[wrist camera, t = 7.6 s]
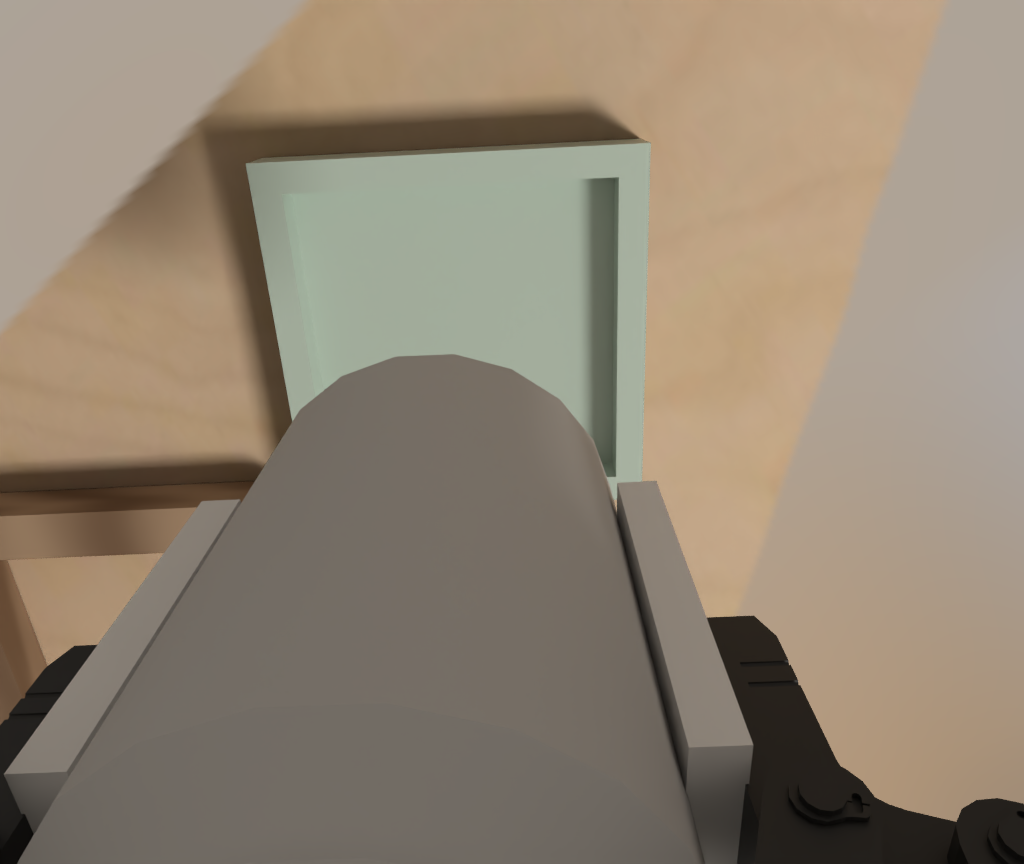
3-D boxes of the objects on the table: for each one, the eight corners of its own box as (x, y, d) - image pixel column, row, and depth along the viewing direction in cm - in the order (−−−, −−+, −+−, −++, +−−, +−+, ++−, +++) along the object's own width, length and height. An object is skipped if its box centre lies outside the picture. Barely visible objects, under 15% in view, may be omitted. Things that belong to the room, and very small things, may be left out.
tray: (320, 488, 32) (308, 513, 30) (263, 157, 27) (245, 163, 25) (633, 474, 32) (641, 498, 30) (640, 138, 26) (650, 142, 25)
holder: (42, 760, 38) (19, 794, 36) (-67, 495, 32) (-101, 520, 30) (344, 748, 38) (336, 781, 36) (294, 479, 32) (281, 503, 30)
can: (209, 440, 17) (-326, 1085, 6) (504, 274, 16) (496, 737, 5) (394, 671, 20) (254, 1401, 9) (660, 548, 18) (888, 1247, 7)
